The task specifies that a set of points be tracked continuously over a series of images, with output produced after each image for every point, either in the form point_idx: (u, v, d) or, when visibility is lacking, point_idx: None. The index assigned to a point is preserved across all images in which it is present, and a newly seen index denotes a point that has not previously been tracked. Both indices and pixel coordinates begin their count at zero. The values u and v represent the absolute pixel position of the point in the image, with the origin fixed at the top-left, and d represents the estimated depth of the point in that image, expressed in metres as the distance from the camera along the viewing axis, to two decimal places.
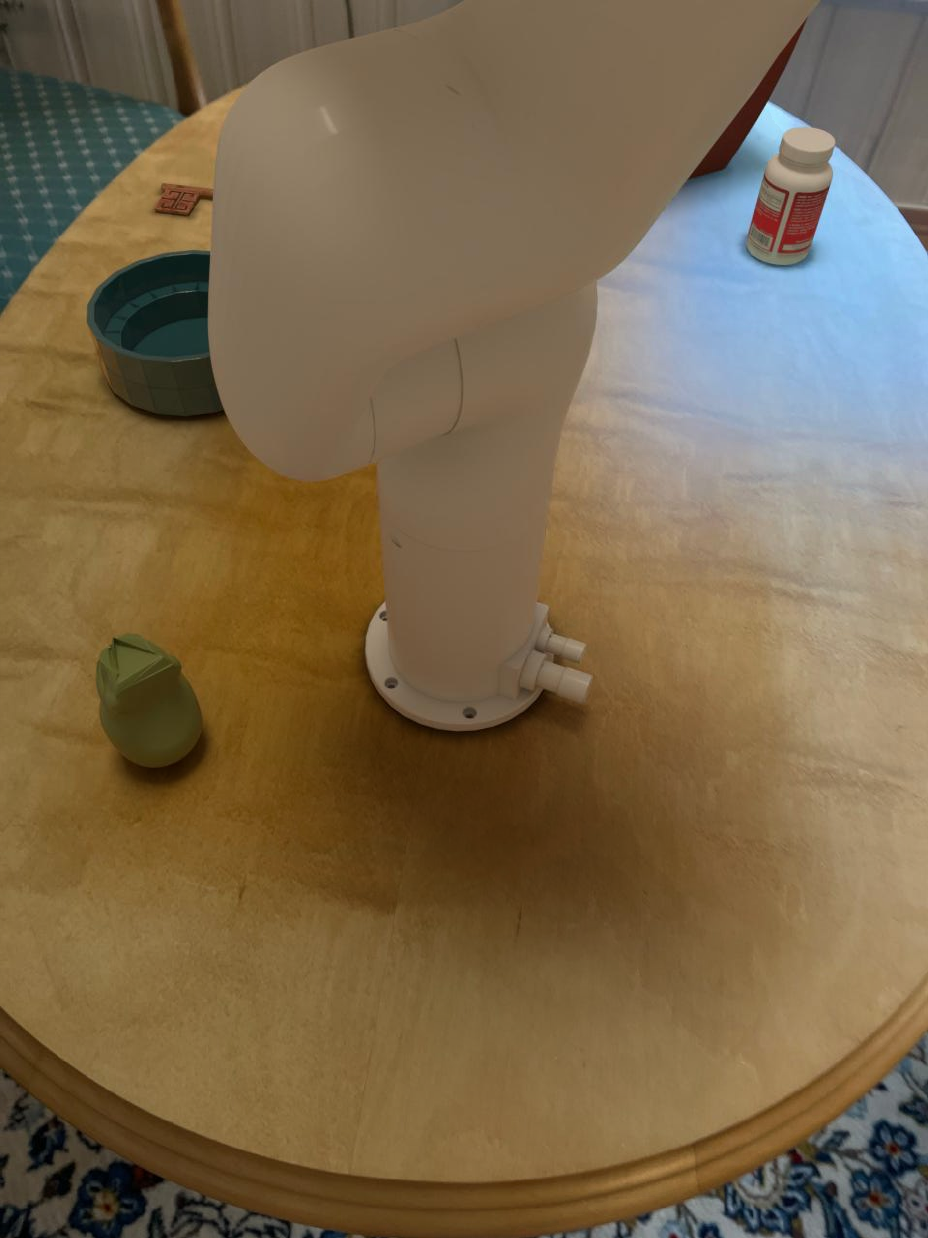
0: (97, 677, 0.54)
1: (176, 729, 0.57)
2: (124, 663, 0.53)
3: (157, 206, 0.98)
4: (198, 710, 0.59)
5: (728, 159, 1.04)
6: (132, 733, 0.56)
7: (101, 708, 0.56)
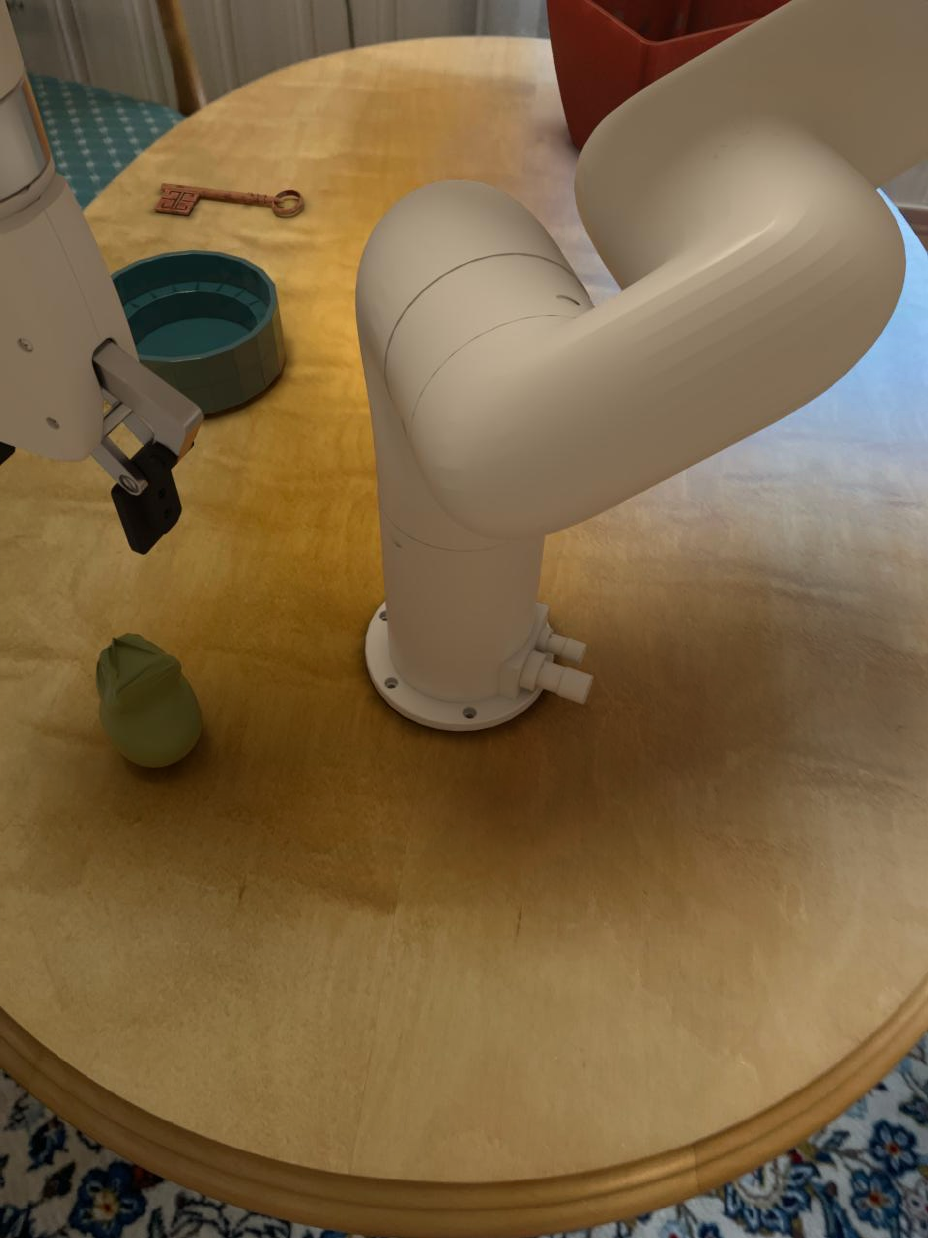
0: (97, 677, 0.54)
1: (176, 729, 0.57)
2: (124, 663, 0.53)
3: (157, 206, 0.98)
4: (198, 710, 0.59)
5: None
6: (132, 733, 0.56)
7: (101, 708, 0.56)
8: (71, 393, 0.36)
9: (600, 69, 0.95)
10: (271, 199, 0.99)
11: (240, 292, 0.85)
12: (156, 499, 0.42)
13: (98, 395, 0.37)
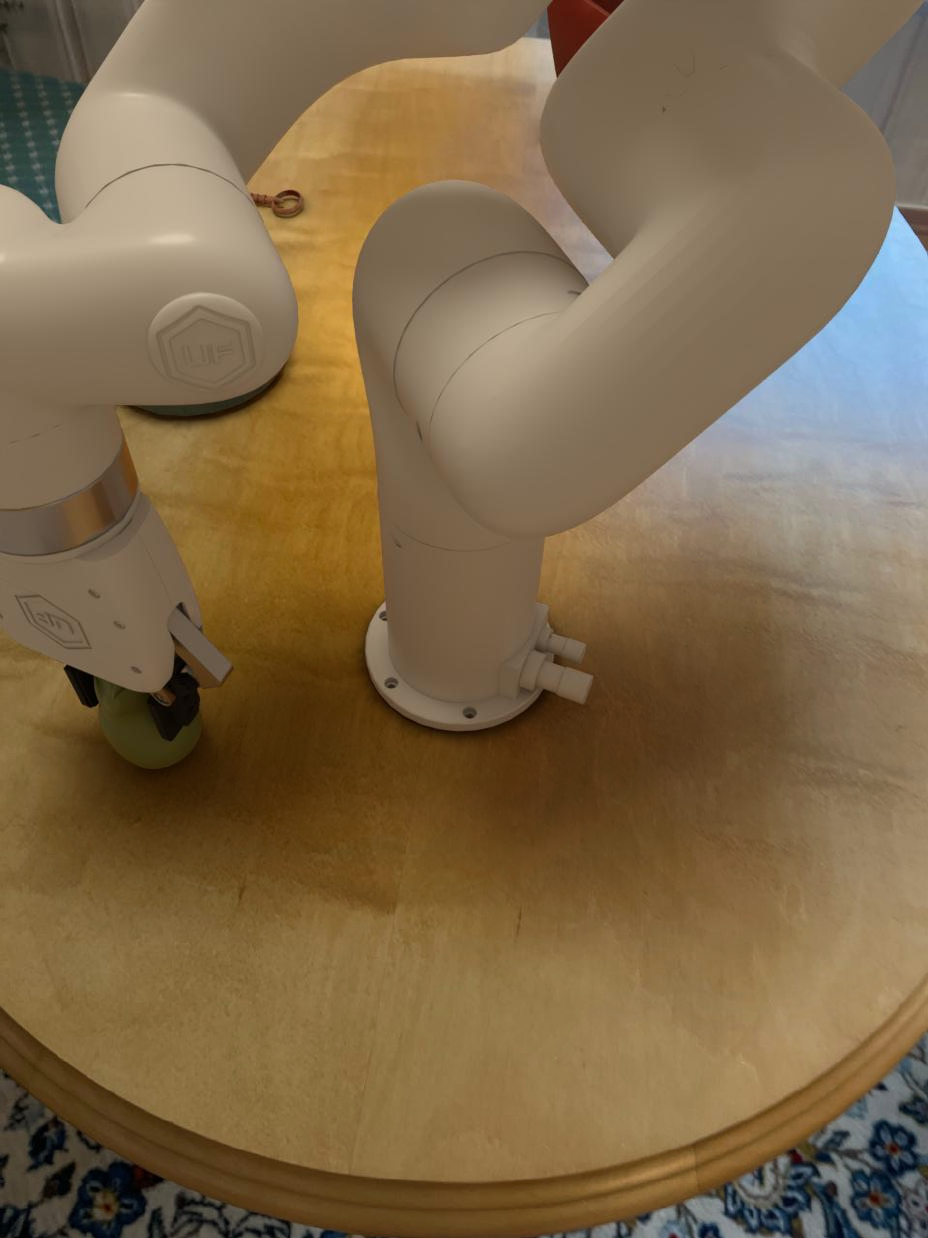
0: (95, 680, 0.54)
1: None
2: None
3: None
4: None
5: None
6: (131, 735, 0.56)
7: (100, 710, 0.56)
8: (152, 651, 0.46)
9: None
10: (271, 199, 0.99)
11: None
12: (181, 703, 0.54)
13: (171, 646, 0.47)
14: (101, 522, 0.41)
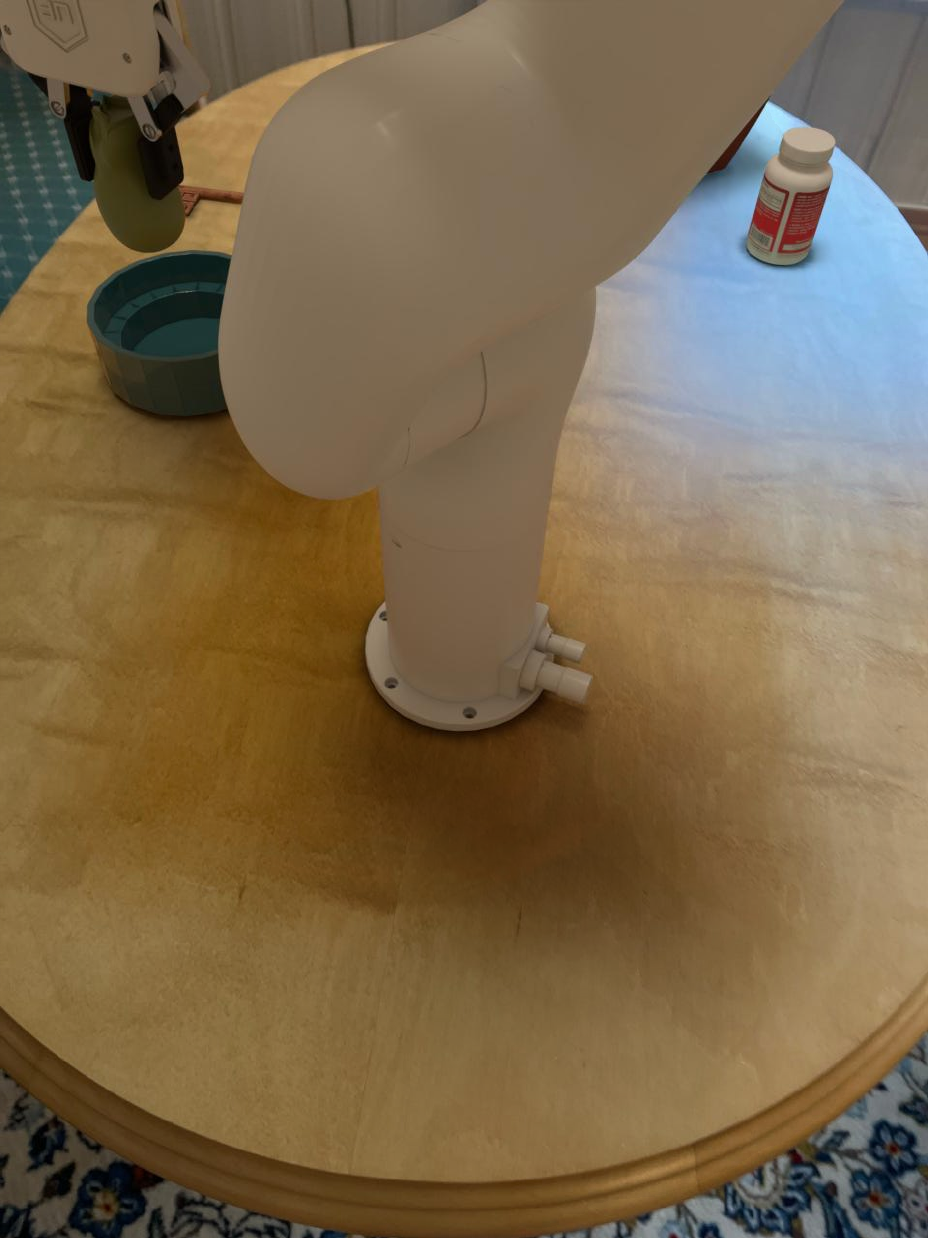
0: (90, 133, 0.62)
1: (162, 202, 0.65)
2: (113, 113, 0.61)
3: None
4: (181, 197, 0.66)
5: (728, 159, 1.04)
6: (123, 196, 0.63)
7: (95, 176, 0.64)
8: (140, 32, 0.54)
9: None
10: None
11: None
12: (167, 151, 0.62)
13: (156, 41, 0.55)
14: None
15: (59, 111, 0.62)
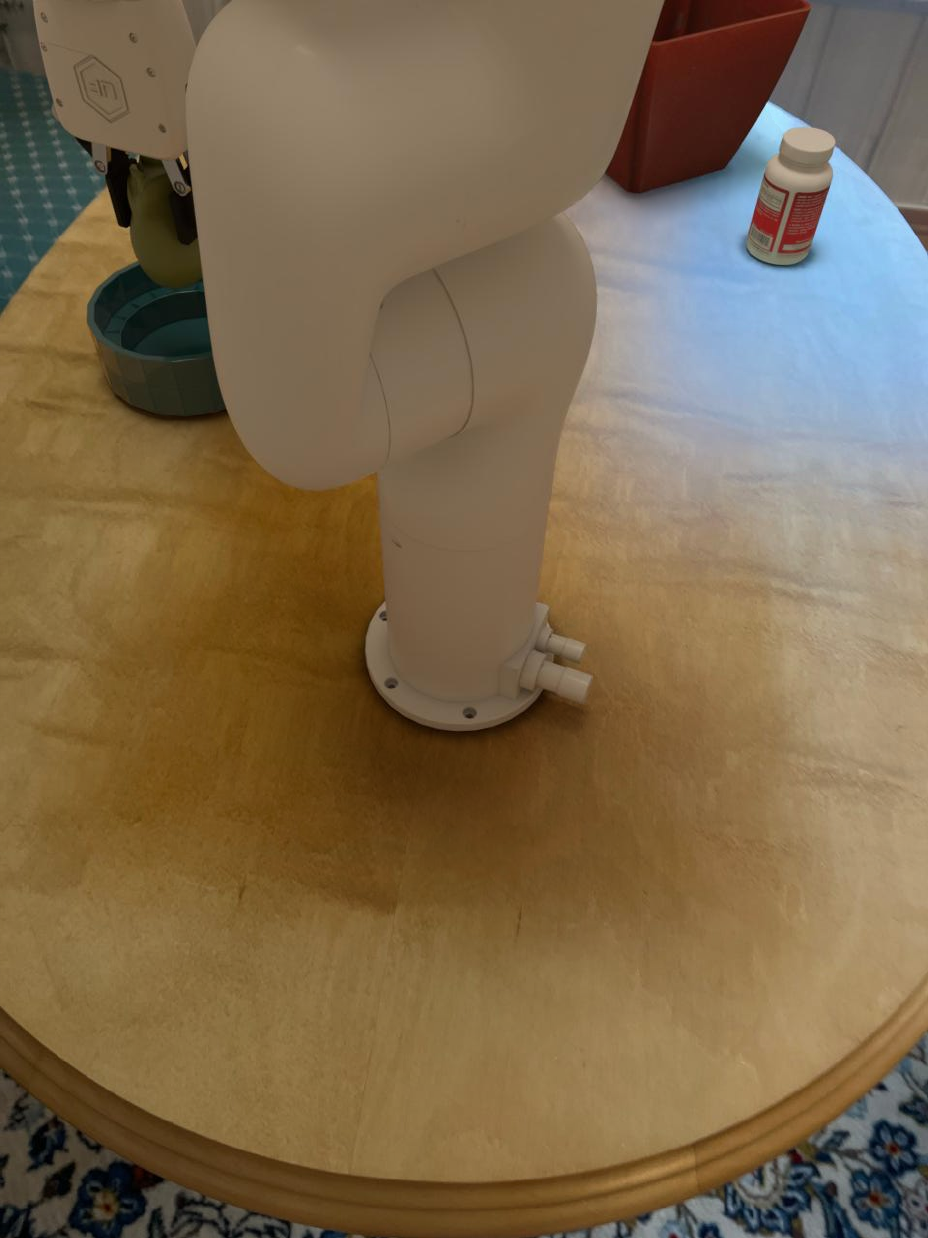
0: (128, 187, 0.71)
1: (189, 245, 0.74)
2: (148, 171, 0.70)
3: None
4: None
5: (728, 159, 1.04)
6: (155, 241, 0.72)
7: (131, 223, 0.73)
8: (174, 107, 0.63)
9: None
10: None
11: None
12: None
13: None
14: None
15: (101, 168, 0.71)
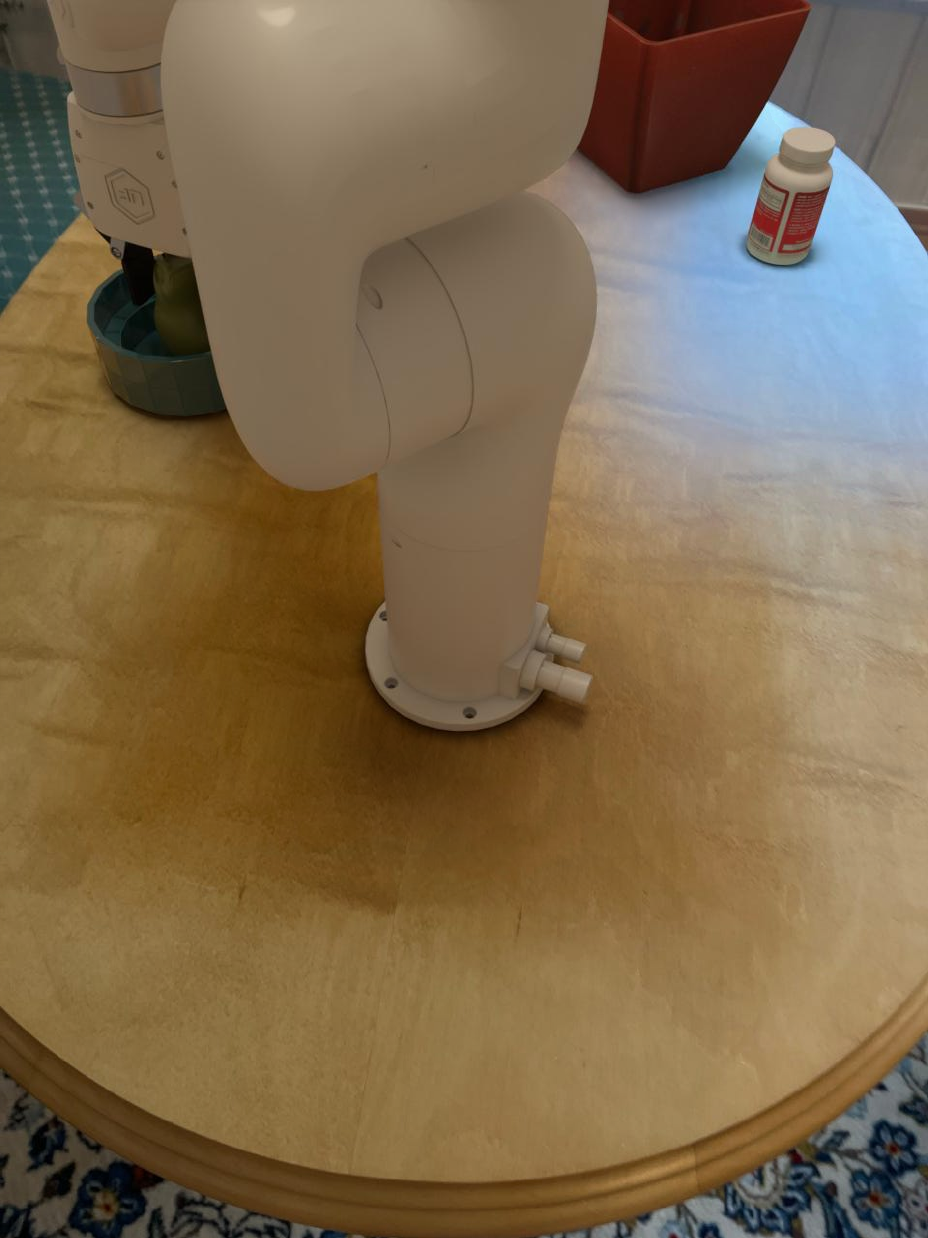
0: (154, 275, 0.76)
1: None
2: (174, 261, 0.76)
3: None
4: None
5: (728, 159, 1.04)
6: (178, 324, 0.78)
7: (156, 306, 0.78)
8: None
9: (600, 69, 0.95)
10: None
11: None
12: None
13: None
14: None
15: (117, 254, 0.76)
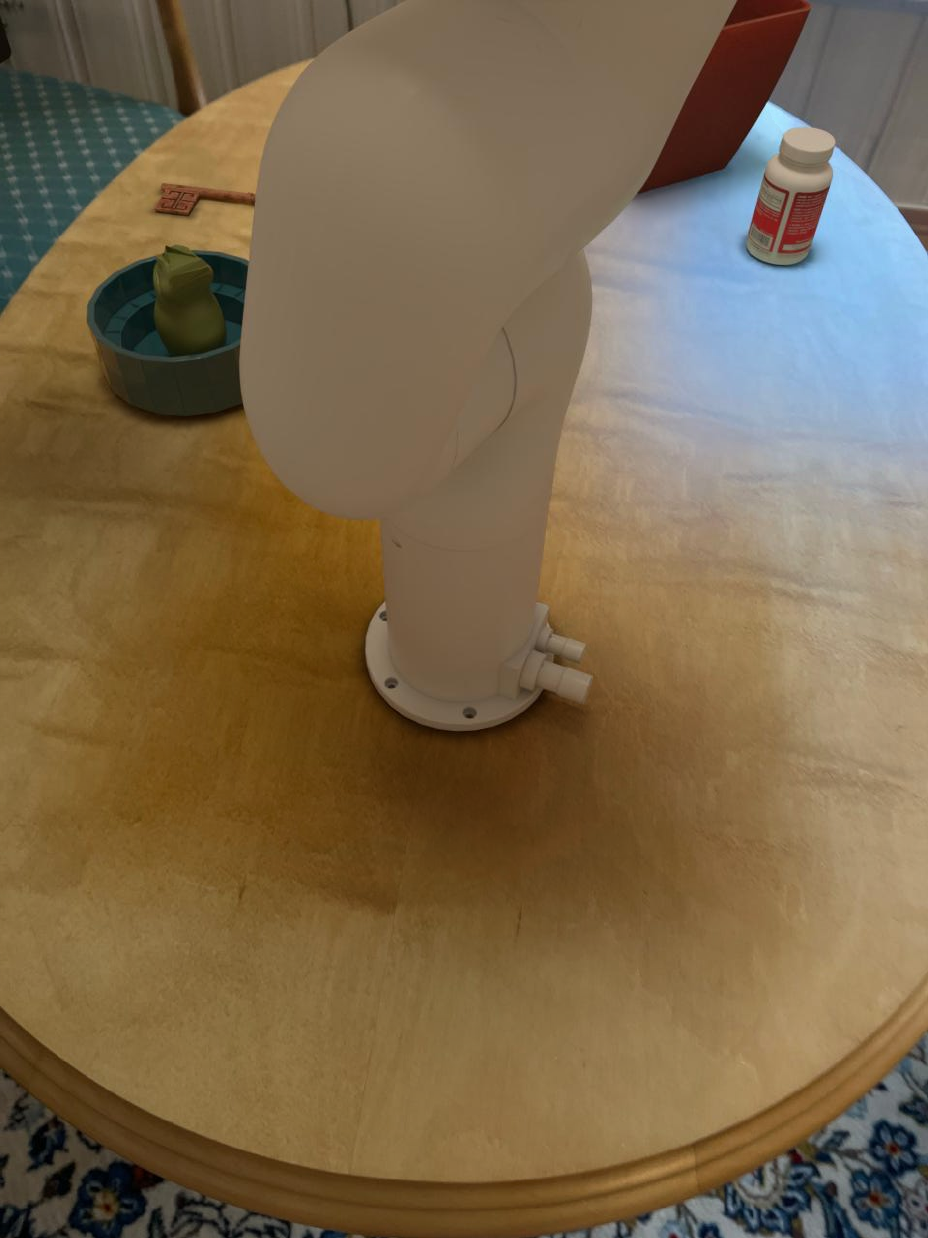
0: (154, 275, 0.76)
1: (209, 327, 0.79)
2: (174, 261, 0.76)
3: (157, 206, 0.98)
4: (224, 321, 0.81)
5: (728, 159, 1.04)
6: (178, 324, 0.78)
7: (156, 306, 0.78)
8: None
9: None
10: None
11: (240, 292, 0.85)
12: None
13: None
14: None
15: None
